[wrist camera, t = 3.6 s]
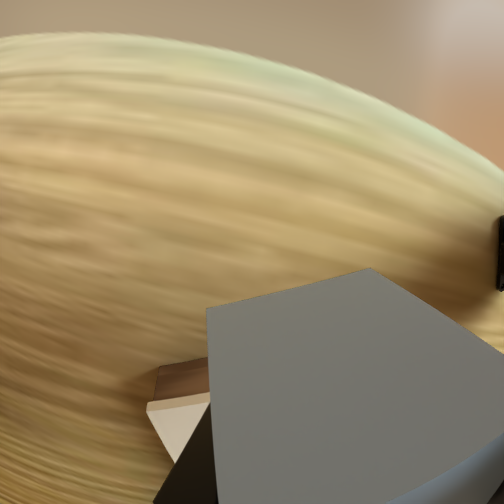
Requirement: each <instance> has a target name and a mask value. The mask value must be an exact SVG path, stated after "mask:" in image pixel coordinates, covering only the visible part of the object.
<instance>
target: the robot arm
mask: <svg viewBox="0 0 504 504" xmlns="http://www.w3.org/2000/svg"><path fill="white" fill-rule="evenodd" d="M496 288H497V290H498V291H500V292H502V291H504V216H502V217H501V218H500V232H499V260H498V275H497V286H496ZM153 504H219V501H218V491H217V481H216V470H215V459H214V446H213V433H212V419H211V404H210V403H209V404H208V406H207V408H206V410H205V412H204V413H203V415H202V417H201V419H200V421H199V422H198V424H197V426H196V428H195V430H194V431H193V433H192V435H191V437H190V438H189V440H188V442H187V444H186V445H185V447H184V449H183V451H182V452H181V454H180V456H179V458H178V459H177V461H176V463H175V465H174V466H173V468H172V470H171V471H170V473H169V475H168V477H167V478H166V480H165V482H164V483H163V485H162V487H161V488H160V490H159V492H158V493H157V495H156V497H155V498H154V500H153ZM487 504H504V480H503V482H502V483H501V484H500V486H499V487H498V489H497V490H496V492H495V493H494V494H493V496H492V497H491V498H490V500H489V501H488V502H487Z"/></svg>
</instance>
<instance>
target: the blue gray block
mask: <svg viewBox="0 0 504 504" xmlns="http://www.w3.org/2000/svg"><path fill="white" fill-rule="evenodd" d="M206 317H207V345H208V367H209V387H210V404H211V419H212V433H213V446H214V459H215V470H216V481H217V491H218V501H219V504H487V502H488V501H489V500H490V498H491V497H492V496H493V494H494V493H495V492H496V490H497V489H498V487H499V486H500V484H501V483H502V482H503V480H504V354H502V353H501V352H499V351H498V350H496V349H495V348H493V347H492V346H491V345H489V344H488V343H486V342H485V341H483V340H482V339H480V338H479V337H477V336H476V335H474V334H473V333H471V332H470V331H468V330H467V329H465V328H464V327H462V326H461V325H459V324H458V323H456V322H455V321H453V320H452V319H450V318H449V317H447V316H446V315H444V314H443V313H441V312H440V311H438V310H437V309H435V308H433V307H432V306H430V305H429V304H427V303H426V302H424V301H423V300H421V299H419V298H418V297H416V296H415V295H413V294H411V293H410V292H408V291H407V290H405V289H403V288H402V287H400V286H399V285H397V284H395V283H394V282H392V281H391V280H389V279H387V278H386V277H384V276H382V275H381V274H379V273H378V272H376V271H374V270H373V269H371V268H368V269H365V270H361V271H357V272H354V273H350V274H346V275H343V276H339V277H335V278H331V279H328V280H324V281H320V282H316V283H312V284H308V285H304V286H300V287H296V288H292V289H288V290H284V291H280V292H276V293H272V294H268V295H264V296H259V297H255V298H251V299H247V300H242V301H238V302H234V303H229V304H225V305H220V306H216V307H211V308H207V309H206Z"/></svg>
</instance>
